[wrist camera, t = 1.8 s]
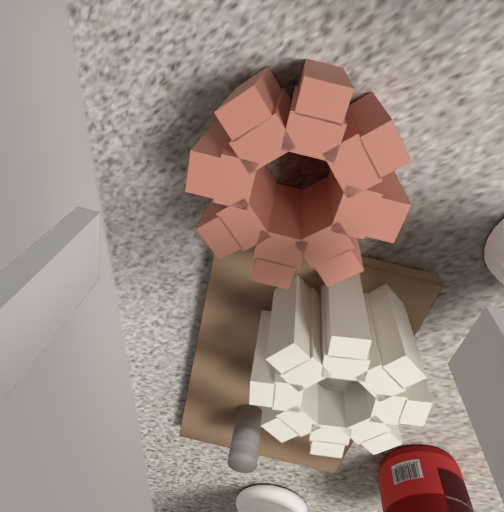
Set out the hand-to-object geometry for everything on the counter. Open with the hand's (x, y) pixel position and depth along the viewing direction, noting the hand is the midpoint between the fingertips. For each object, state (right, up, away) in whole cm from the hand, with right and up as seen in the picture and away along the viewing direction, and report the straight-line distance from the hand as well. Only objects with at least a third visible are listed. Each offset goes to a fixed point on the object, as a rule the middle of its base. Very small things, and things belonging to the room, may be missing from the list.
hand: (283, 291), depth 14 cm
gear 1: (+2, +8, +12) cm, 15 cm away
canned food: (+16, -20, +27) cm, 37 cm away
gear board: (+2, -8, +22) cm, 23 cm away
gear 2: (+5, -4, +17) cm, 19 cm away
